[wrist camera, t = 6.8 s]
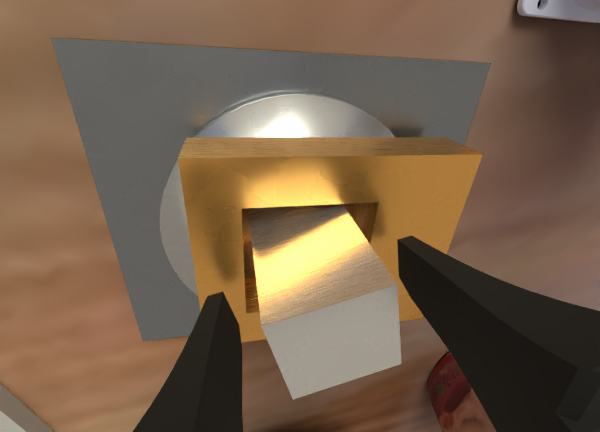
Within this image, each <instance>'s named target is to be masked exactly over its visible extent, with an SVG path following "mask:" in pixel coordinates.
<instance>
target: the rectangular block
mask: <svg viewBox="0 0 600 432" xmlns="http://www.w3.org/2000/svg"><path fill="white" fill-rule="evenodd" d="M248 213H249V222H250V231H251V240H252V248H253V257H254V266H255V275H256V283H257V292H258V301H259V310H260V318H261V327H262V329H263V332H264V334H265V336H266V339H267V341H268V343H269V346H270V348H271V350H272V352H273V355H274V357H275V359H276V362H277V364H278V366H279V369H280V371H281V373H282V375H283V378H284V380H285V382H286V385H287V387H288V389H289V392H290V394H291V396H292V398H293V399H297V398H300V397H303V396H306V395H309V394H312V393H315V392H318V391H321V390H324V389H327V388H330V387H333V386H336V385H339V384H342V383H345V382H348V381H351V380H354V379H357V378H360V377H363V376H366V375H369V374H372V373H375V372H378V371H381V370H384V369H388V368H391V367H394V366H397V365H400V364H401V345H400V325H399V305H398V285H397V283H396V282H395V280H394V279H393V277H392V276H391V274H390V273H389V272H388V270H387V269H386V267H385V266H384V264H383V263H382V261H381V260H380V258H379V257H378V255H377V254H376V252H375V251H374V250H373V248H372V247H371V245H370V244H369V242H368V241H367V239H366V238H365V236H364V235H363V233H362V232H361V231H360V229H359V228H358V226H357V225H356V223H355V222H354V220H353V219H352V217H351V216H350V214H349V213H348V211H347V210H346V209H345V207H344V206H343V204H329V205H307V206H285V207H263V208H248Z"/></svg>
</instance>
